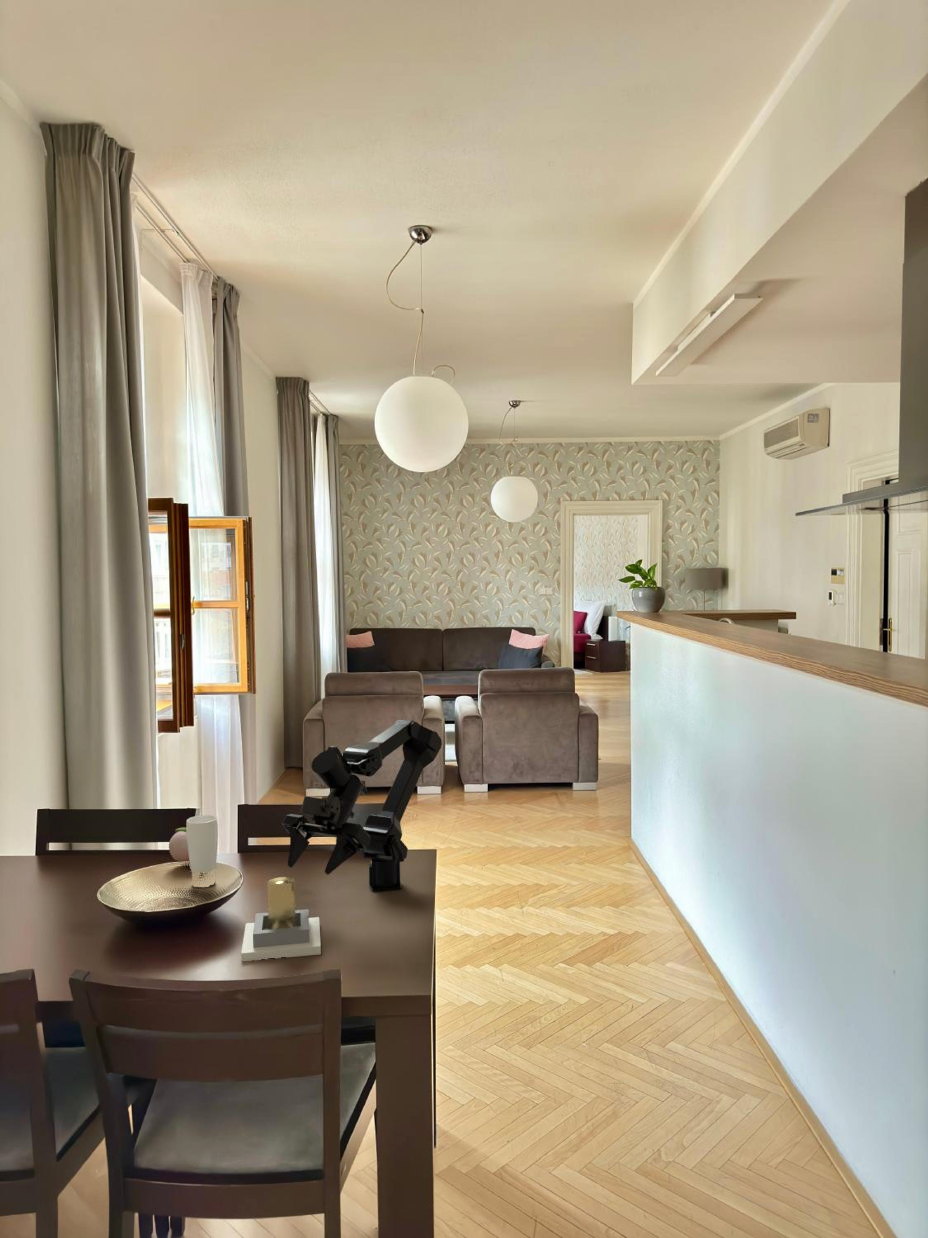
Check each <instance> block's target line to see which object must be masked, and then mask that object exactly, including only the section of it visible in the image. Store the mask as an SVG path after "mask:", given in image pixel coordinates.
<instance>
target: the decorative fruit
mask: <svg viewBox="0 0 928 1238" xmlns="http://www.w3.org/2000/svg"><path fill="white" fill-rule="evenodd" d="M174 832H175V833H174V834H173V835H172V836H171V838H170V840H169V842H168V850H169V854H170V855H171V857H172V858H173V860H175V861H176V860H177V861H176V862H178V861H189V854H188V846H187V834H186V827H179V828H175V831H174Z"/></svg>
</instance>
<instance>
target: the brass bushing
mask: <svg viewBox="0 0 928 1238" xmlns="http://www.w3.org/2000/svg"><path fill="white" fill-rule="evenodd" d="M295 910H296V879H294V878H293V877H288V876H280V877H274V878H271V879H268V881H267V913H268V930H270V929H281V928H293V927H296V922H295Z"/></svg>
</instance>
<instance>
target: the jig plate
mask: <svg viewBox="0 0 928 1238" xmlns="http://www.w3.org/2000/svg"><path fill="white" fill-rule="evenodd" d="M309 913H310V911H309V908H308V909H307V908H306V909H295V922H296V927H293V928H281V929H270V930H268V912H262V913H261V912H260V913H259V912H258V913H255V916H254V922H248V923H245V926H244V927H245V928H244V933H243V939H242V945H241V953H240V955H241V956H240V957H241V959H240V961H241V962H251V961H252V960H254V961H261V959H265V960H269V959H268V958H275V959H282V958H281V957H286V958H296V957H307V956H315V955H318V956H319V955H321V954H322V953H321V952H322V948H321V947H322V946H321V945H322V944H321V929H320V926H321V925H320V917H319V916H316V917H309ZM252 962H253V961H252Z"/></svg>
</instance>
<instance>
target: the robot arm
mask: <svg viewBox="0 0 928 1238" xmlns="http://www.w3.org/2000/svg"><path fill="white" fill-rule="evenodd" d="M442 744H443V742H442V738H441V736H440V735H439V733H438V732H437V731H435V730H432V729H430V728H427V727H425V726H423V725H421V724H420V723H419V722H417V721H415V720H412V719H400V718H399V719H398V720H395V722H393V725H391V726H389V727H388V728H387V729H385V730H384V731H382V732H381V733H380V734H378V735H377V736H375V737H373V738H372V739H371V740H369V741H367V742H364V743H357V744H354V745H352V746H349V747H346V749H345V750H344V751H343V753H341V750H340V749H339V748H338V746H332V745H330V746H327V747H328V748H327V750H325V751H321V752H320V753H319V754H317V755H316V756H315V757H314V758H313V760H312V762H311V770H312V771H313V772H314V774H315V775H316V776H317V777H318V779H319V780H320V781H321V782H322V784H324V786H325V787H326V788H327V789H331V790H330V792H329V793H328V795H327V796H323V797H321V798H320V797H313V796H305V795H304V797H303V801H302V804H301V805H302V806H301V809H300V813H302V814H305V813H306V814H308V815H310V816H309V818H310V820H311V821H314V823H311V822H310V821H309V820H308V819H307V818H306V817H305V816H304V815H300V814H293V813H290V814H287V815H286V816H285V817H284V820H283V821H282V823H281V825H282V826H283V827H284V828H285V831H286V832H287V833H288V834H289V838H290V839H289V852H288V857H287V858H288V859H287V867H288V868H293V867H294V866H295V864H296V863H297V862H298V860H299V859H300V858H301V856H302V855H303V853H304V852H305V850H306V849H307V847H308V846H309V845H310V841H309V840H310V839H312V837H313V835H319V836H325V837H330V838H335V847H334V849H333V850H332V853H331V855H330V857H329V859H328V861H327V864H326V866H325V869H324V873H325V874H326V875H330V874H331V873H332V872H334V871H335V870H336V869H338V868H339V866H341V865H342V864H343V863H345V862H346V861H347V860H348V859H350V858H351V857H352V856H354V855H356V854H360V853H361V852H362V857H363V858H364V859H369V860H370V863H368V865H367V872H368V873H367V875H368V876H367V878H368V879H367V880H368V881H367V882H368V886H369V887H371V891H372V892H376V891H377V892H378V891H379V892H380V891H390V890H393V891H394V890H401V889H402V888H403V887H402V883H401V862H403V863H404V862H405V860H406V858H407V856H408V851H409V850H408V848H409V847H408V846H407V845H406V844H405V843H404V841H403V840H402V837H403V832H402V825H401V821H402V820H403V819H402V818H403V816H404V814H405V811H406V810H407V808H408V807H407V806H408V805H409V803H410V800H411V798H412V796H413V793H414V791H415V789H416V787H417V784H418V781H419V779H420V777H421V775H422V772H423V770H424V768H426V767H427V766H429V765H430V764H431V763H432V762H434V761H435V759H436V758H437V755H438V754H439V752H440V751H441V749H442ZM400 747H401V750H402V755H403V761H402V763H401V765H400V768H399V769H398V772H397V774H396V776H395V779H394V781H393V783H392V786H391V787H390V790H389V792H388V795H387V797H386V798H385V801H384V804H383V805H382V808H381V809H380V811H379V812H378V814H376V815H375V814H369V815H368V816H367V817H366V820H365V823H364V825H363V826H362V825H361V824H360V823H359V824H358V823H353V822H348V819H349V818H350V819H353V818H354V815H355V812H354V811H353V810H354V806H355V805H356V803H357V800H358V798H359V796H360V794H361V795H367V794H368V789H367V786H366V781H365V780H361V778H359V776H360V777H368V778H369V777H373V776H374V775H375V774H376V773H377V772H378V771H379V770H380V769H381V768H382V766H383V761H384V759H385V758H386V757H387V756H389V755H391V754H392V753H393V752H394V751H396V750H397V749H398V748H400Z"/></svg>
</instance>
